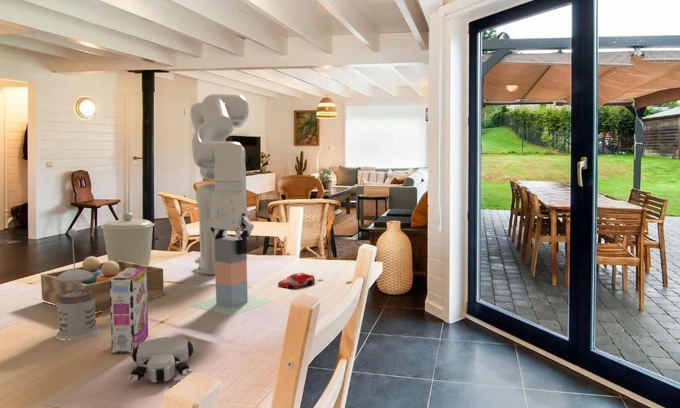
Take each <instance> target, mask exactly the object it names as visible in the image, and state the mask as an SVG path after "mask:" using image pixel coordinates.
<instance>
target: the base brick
mask: <svg viewBox="0 0 680 408" xmlns="http://www.w3.org/2000/svg"><path fill="white" fill-rule="evenodd" d="M248 296H249V295H248V280H247V281H246V282H242V283H239V284H235V285H232V286H230V285H225V284H220V283H216V282H215V298H216V304H218V305H222V306H227V307H231V308H232V307H235V306H238V305H241V304H244V303H247V302H248Z"/></svg>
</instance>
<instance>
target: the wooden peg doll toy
mask: <svg viewBox="0 0 680 408" xmlns="http://www.w3.org/2000/svg"><path fill="white" fill-rule="evenodd" d="M100 263H101V261H100V259H99V258H97V257H96V256H93V255H92V256H88V257H85V259H84V260H83V261H82V267H83V269H84V270H86V271H89V272H91V273H93V274H94V277H93V278H91V279H88V280H84V281H81V282H82V283H83V284H87V285H89V284H93V283H97V282H102V281H106V280H109V279H110V278H112V277H113V276H115V275H117V274H118V273H119V269H120V268H119V265H118V263H116V262H115V261H108V260H107V261H105V263H104V262H103V263H104V264H103V265H102V268H101V270H99V267H100Z"/></svg>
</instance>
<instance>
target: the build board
mask: <svg viewBox="0 0 680 408" xmlns="http://www.w3.org/2000/svg"><path fill="white" fill-rule="evenodd" d="M272 302H273V300H272V299H267V298H261V297H257V296H252V295H248V302H247V303H244V304H241V305H238V306H235V307H232V308H231V307H227V306H222V305H218V304H216V297H212V298H210V299H206V300H203V301H200V302H197V303H194V304H190V305H189V306H190V307H193V308H197V309H201V310H205V311H209V312H213V313H219V314H222V315H226V316H231V317H233V316H236V315H238V314H239V315H240V314H241V313H243V312H247V311H250V310H252V309H255V308H258V307H260V306H262V305H266V304H268V303H272Z"/></svg>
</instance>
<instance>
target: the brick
mask: <svg viewBox="0 0 680 408" xmlns="http://www.w3.org/2000/svg"><path fill="white" fill-rule="evenodd" d="M247 263H248V260H244V261H240V262H236V263H232V264H230V263H224V262H217V261H215V274H214V275H215V276H214V278H215V284H216V283H220V284H225V285H230V286H232V285H235V284H239V283H242V282H246V281H247V282H248V267H247V266H248V264H247Z"/></svg>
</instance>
